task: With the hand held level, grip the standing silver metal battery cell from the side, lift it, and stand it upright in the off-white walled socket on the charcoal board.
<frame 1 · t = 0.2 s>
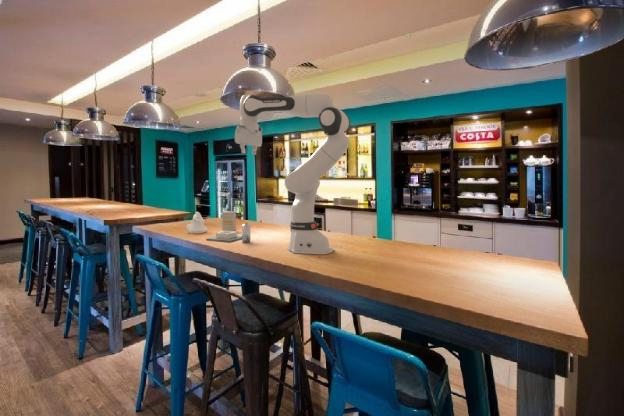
hand: (248, 154, 184), 48 cm above the table, tool pointing down, fingers open, 8 cm apart
soft serve ice cream: (197, 232, 230), on the table
battery cell: (246, 242, 194), on the table
socket board: (226, 239, 204), on the table
supplement box: (229, 231, 233), on the table
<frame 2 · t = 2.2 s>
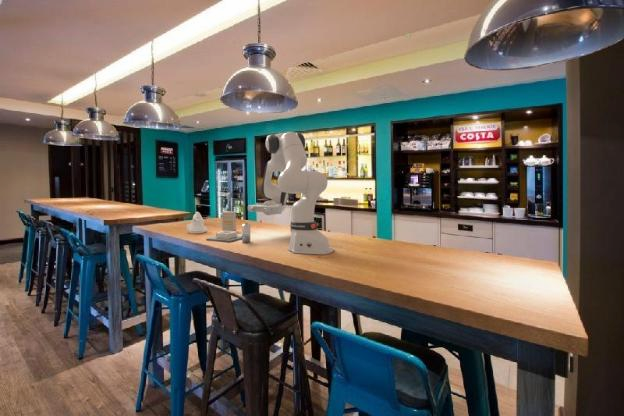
hand: (257, 209, 204), 17 cm above the table, tool horizontal, fingers open, 8 cm apart
nothing on the table moved.
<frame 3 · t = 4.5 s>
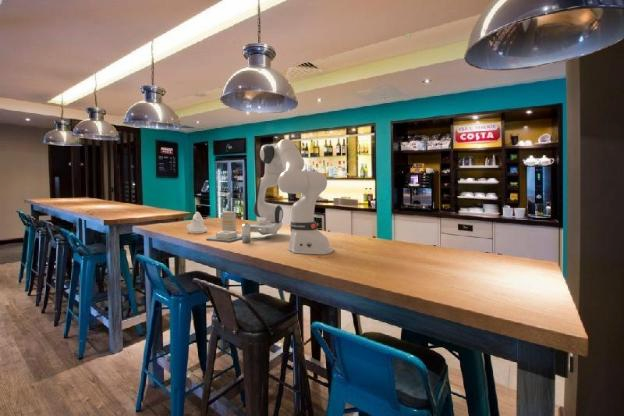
hand: (252, 230, 199), 6 cm above the table, tool horizontal, fingers open, 8 cm apart
nothing on the table moved.
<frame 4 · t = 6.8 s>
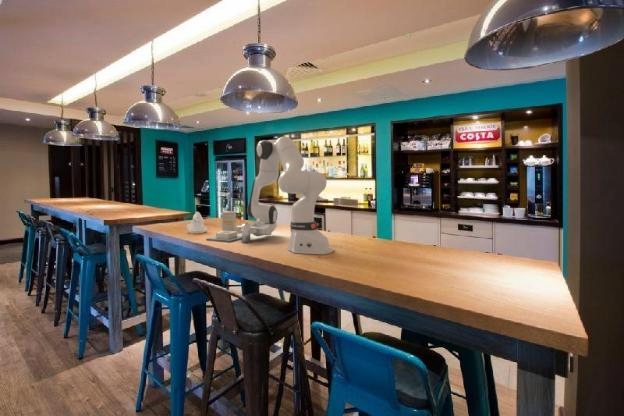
hand: (245, 231, 193), 6 cm above the table, tool horizontal, fingers closed on battery cell, 4 cm apart
battery cell: (246, 242, 194), on the table, touching gripper
everything else where it was.
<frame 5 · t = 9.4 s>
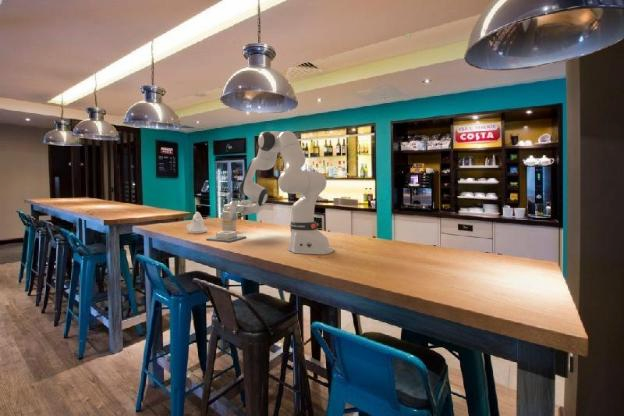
hand: (232, 209, 198), 18 cm above the table, tool horizontal, fingers closed on battery cell, 4 cm apart
battery cell: (233, 219, 200), point 12 cm above the table, touching gripper
everything else where it was.
when the fingers open (8 cm above the table, at t = 12.3 s): battery cell drops 1 cm, resting on socket board.
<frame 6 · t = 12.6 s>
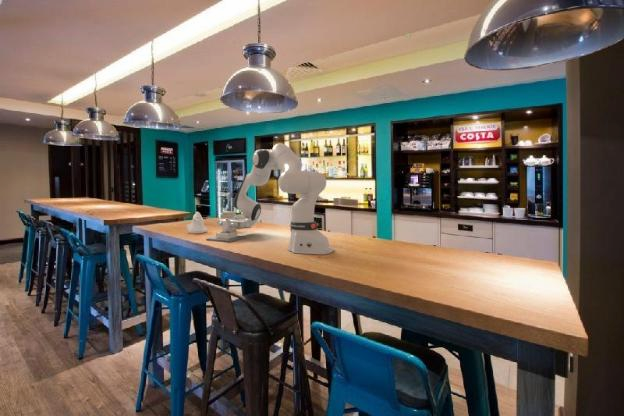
hand: (225, 224, 203), 8 cm above the table, tool horizontal, fingers open, 7 cm apart
battery cell: (226, 237, 204), point 1 cm above the table, touching socket board
everything else where it was.
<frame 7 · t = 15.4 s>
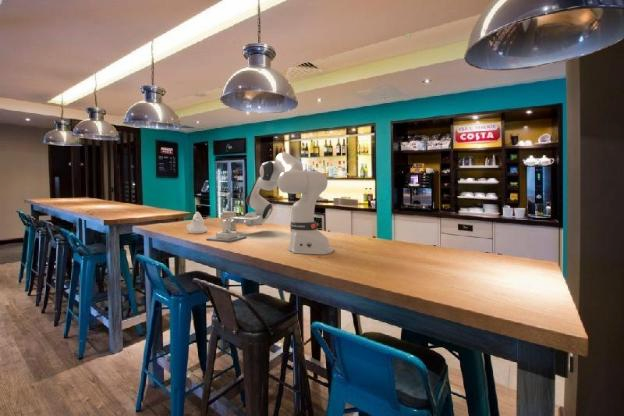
hand: (238, 222, 215), 8 cm above the table, tool horizontal, fingers open, 8 cm apart
nothing on the table moved.
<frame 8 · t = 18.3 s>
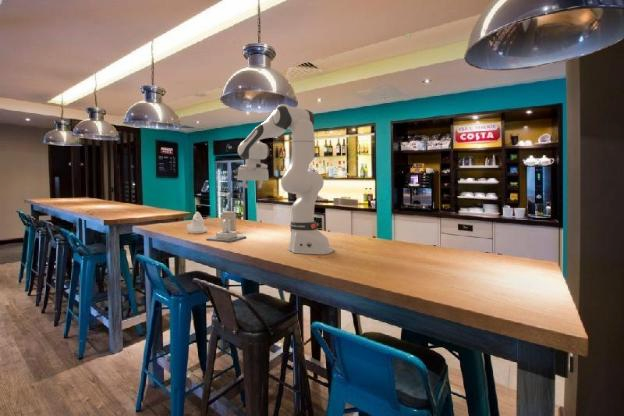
hand: (252, 188, 217), 29 cm above the table, tool pointing down, fingers open, 8 cm apart
nothing on the table moved.
at the end: battery cell 0.0 cm off-centre on the socket board, point 1.0 cm above the socket board's base; battery cell tilted 0°; the gripper is holding nothing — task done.
